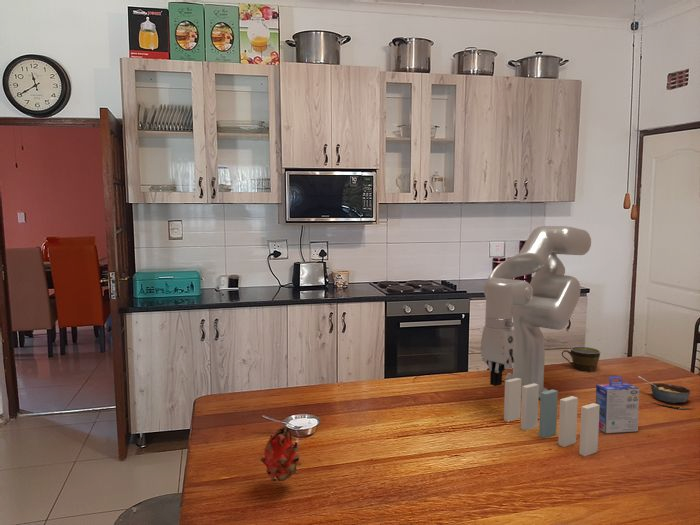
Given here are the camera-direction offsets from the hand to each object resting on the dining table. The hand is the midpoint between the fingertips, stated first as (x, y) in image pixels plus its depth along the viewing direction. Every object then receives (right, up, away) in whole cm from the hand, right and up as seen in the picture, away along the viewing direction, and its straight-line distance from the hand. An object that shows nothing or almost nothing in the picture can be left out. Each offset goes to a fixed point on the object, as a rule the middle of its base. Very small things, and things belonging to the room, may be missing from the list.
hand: (495, 384), depth 151 cm
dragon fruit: (-59, -12, -39) cm, 71 cm away
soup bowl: (+57, -9, +11) cm, 59 cm away
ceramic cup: (+42, -6, +38) cm, 57 cm away
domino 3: (+10, -10, -14) cm, 20 cm away
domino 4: (+13, -11, -19) cm, 26 cm away
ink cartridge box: (+31, -10, -10) cm, 34 cm away
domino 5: (+16, -11, -24) cm, 31 cm away
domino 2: (+7, -10, -9) cm, 15 cm away
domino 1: (+4, -9, -4) cm, 11 cm away
